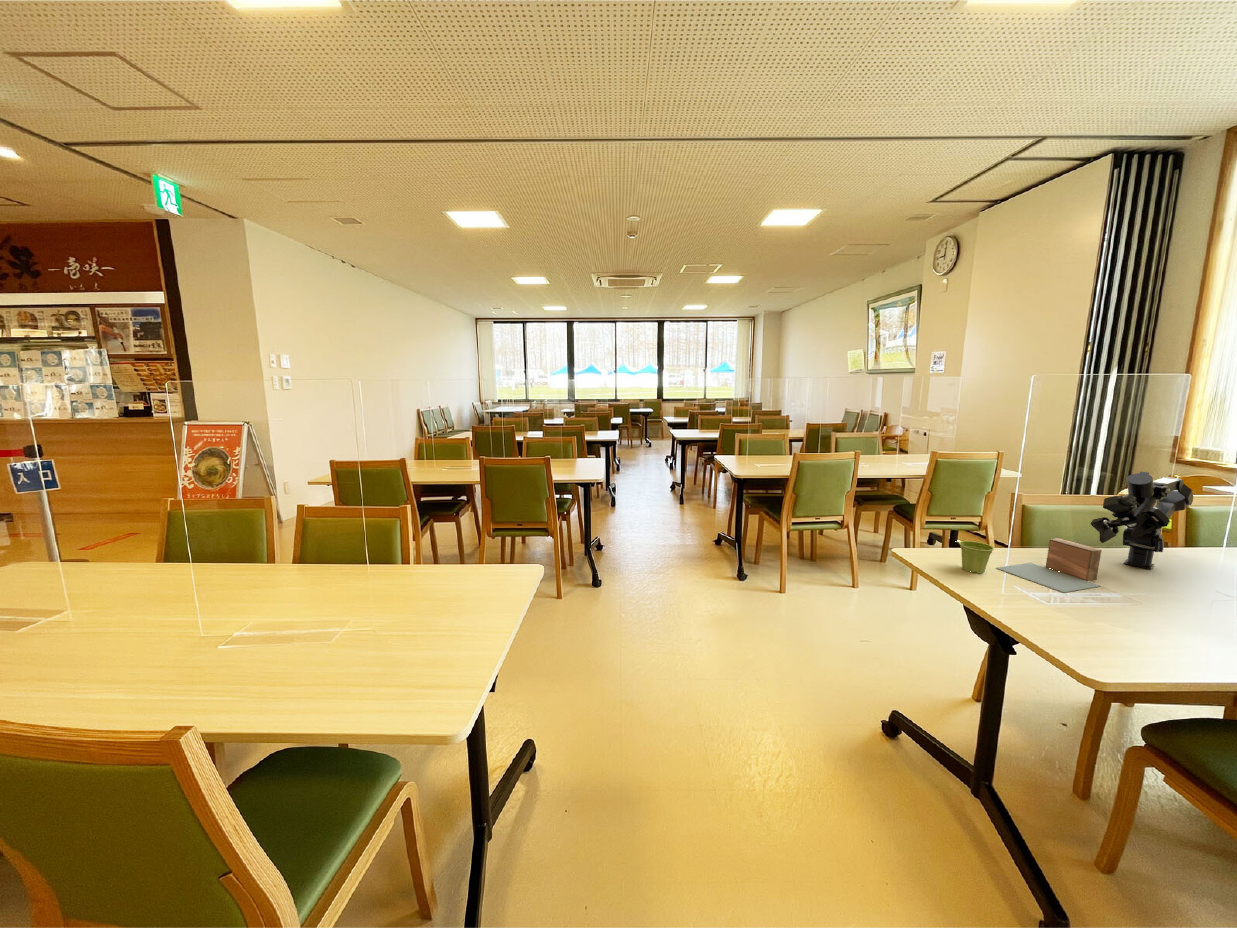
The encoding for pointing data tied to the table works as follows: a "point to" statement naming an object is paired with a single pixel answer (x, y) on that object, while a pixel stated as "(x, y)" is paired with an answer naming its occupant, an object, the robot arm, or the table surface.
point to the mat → (1048, 577)
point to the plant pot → (975, 555)
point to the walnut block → (1073, 559)
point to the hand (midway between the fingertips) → (1116, 539)
